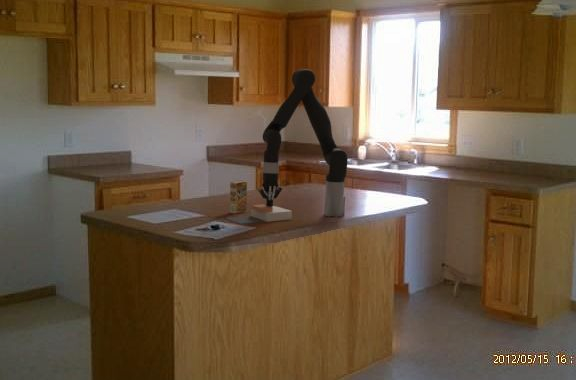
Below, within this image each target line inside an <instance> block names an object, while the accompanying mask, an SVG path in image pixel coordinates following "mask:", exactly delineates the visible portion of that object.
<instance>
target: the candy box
mask: <svg viewBox="0 0 576 380" xmlns="http://www.w3.org/2000/svg"><path fill="white" fill-rule="evenodd" d="M229 184H230V189H229V193H230V194H229V213H230V214H235V215H236V214H241V213H247V209H248V206H247V205H248V181H246V180H245V181H244V180H238V181H237V180H236V181H232V182H229Z"/></svg>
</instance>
